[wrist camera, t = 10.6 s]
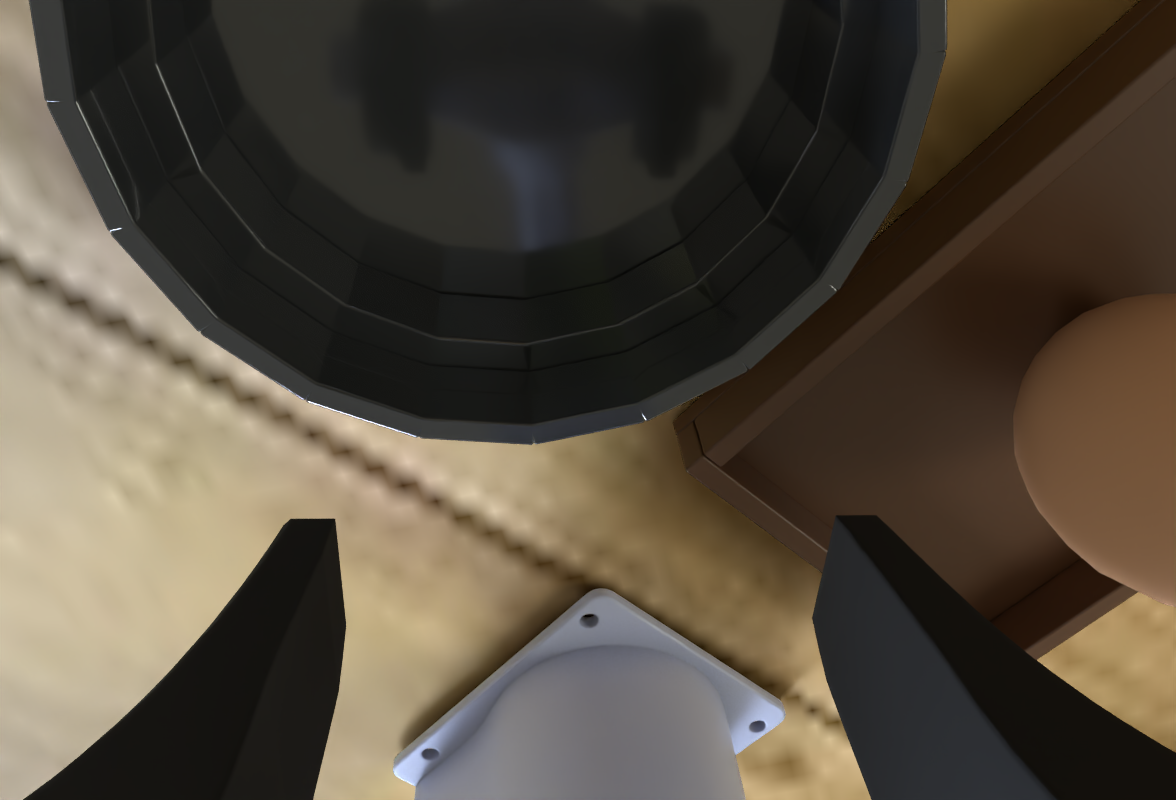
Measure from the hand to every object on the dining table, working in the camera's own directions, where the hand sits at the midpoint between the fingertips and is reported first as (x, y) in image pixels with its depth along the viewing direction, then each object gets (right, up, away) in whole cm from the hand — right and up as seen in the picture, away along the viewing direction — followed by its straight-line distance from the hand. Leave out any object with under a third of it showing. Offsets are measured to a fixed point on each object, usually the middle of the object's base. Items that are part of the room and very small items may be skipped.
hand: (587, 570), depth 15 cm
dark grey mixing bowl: (-2, +10, +5) cm, 11 cm away
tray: (+12, +4, +10) cm, 16 cm away
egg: (+12, +4, +10) cm, 16 cm away
